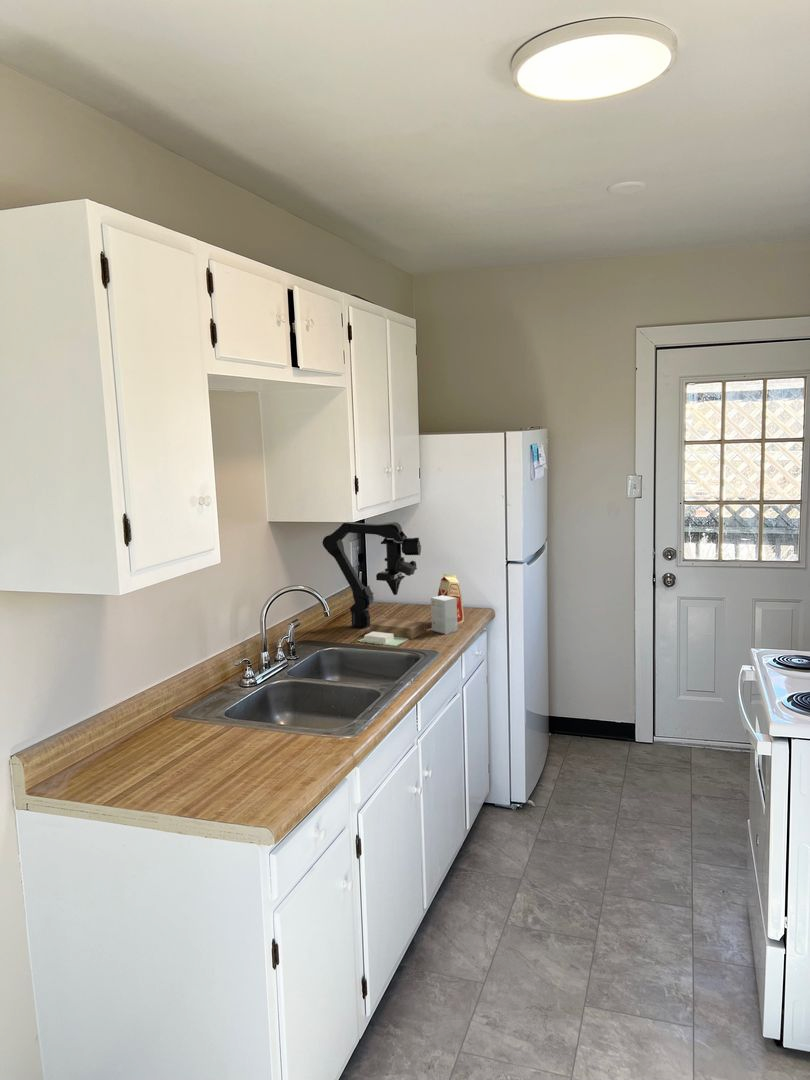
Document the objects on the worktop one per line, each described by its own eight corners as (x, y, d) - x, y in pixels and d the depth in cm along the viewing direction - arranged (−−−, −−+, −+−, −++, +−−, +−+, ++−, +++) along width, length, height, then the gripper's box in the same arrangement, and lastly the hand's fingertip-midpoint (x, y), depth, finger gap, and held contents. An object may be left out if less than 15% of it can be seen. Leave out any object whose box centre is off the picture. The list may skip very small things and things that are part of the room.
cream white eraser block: (372, 631, 301) (372, 636, 301) (364, 635, 296) (364, 640, 296) (393, 633, 296) (393, 639, 297) (385, 637, 291) (385, 643, 291)
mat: (357, 641, 296) (357, 640, 296) (372, 634, 305) (371, 634, 305) (395, 646, 288) (395, 645, 288) (409, 639, 297) (409, 638, 297)
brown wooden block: (370, 634, 305) (370, 624, 305) (383, 628, 314) (383, 618, 314) (412, 639, 297) (411, 628, 296) (424, 632, 305) (424, 622, 305)
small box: (457, 631, 306) (457, 597, 304) (445, 634, 302) (444, 600, 300) (443, 627, 312) (442, 594, 310) (431, 630, 308) (430, 597, 306)
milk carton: (449, 626, 314) (448, 576, 311) (433, 622, 321) (432, 573, 318) (466, 622, 319) (465, 572, 316) (450, 618, 326) (449, 569, 323)
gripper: (400, 560, 299) (401, 601, 301) (423, 552, 315) (424, 591, 317) (374, 558, 304) (376, 599, 306) (398, 551, 320) (400, 589, 322)
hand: (395, 594), depth 313 cm, fingers closed
